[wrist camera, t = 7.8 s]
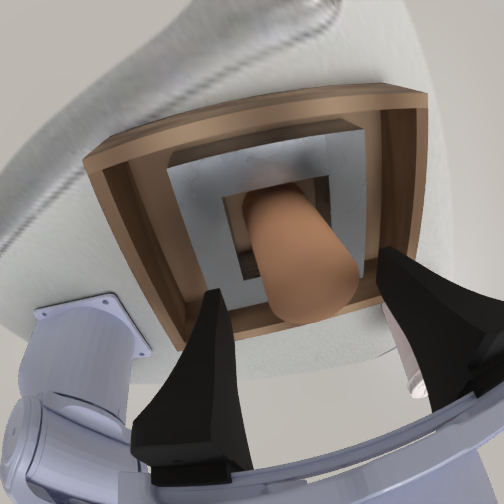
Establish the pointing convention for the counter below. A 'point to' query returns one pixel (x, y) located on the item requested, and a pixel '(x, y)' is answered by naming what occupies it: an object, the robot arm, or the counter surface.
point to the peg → (298, 255)
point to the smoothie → (406, 357)
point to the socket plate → (265, 175)
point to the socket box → (235, 124)
